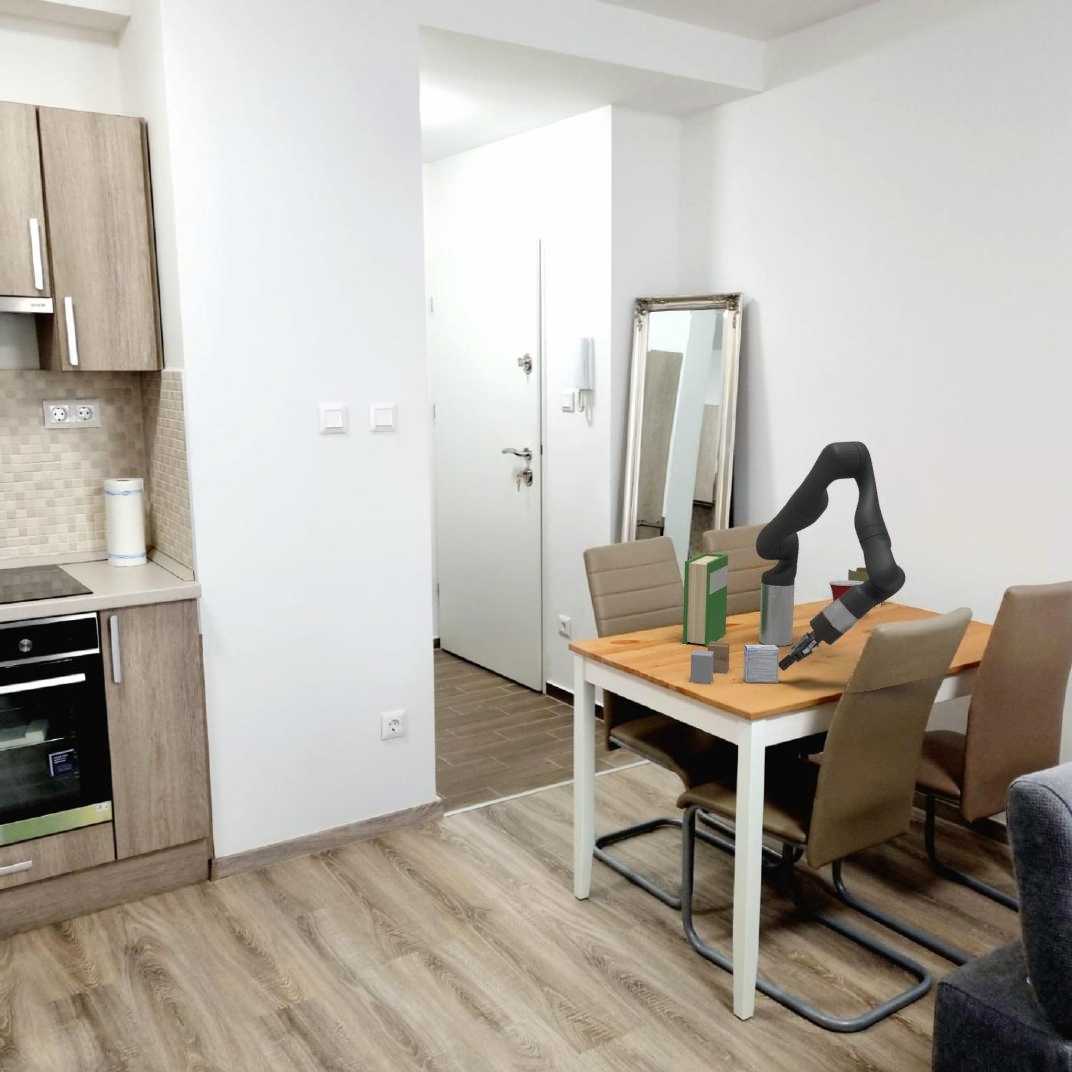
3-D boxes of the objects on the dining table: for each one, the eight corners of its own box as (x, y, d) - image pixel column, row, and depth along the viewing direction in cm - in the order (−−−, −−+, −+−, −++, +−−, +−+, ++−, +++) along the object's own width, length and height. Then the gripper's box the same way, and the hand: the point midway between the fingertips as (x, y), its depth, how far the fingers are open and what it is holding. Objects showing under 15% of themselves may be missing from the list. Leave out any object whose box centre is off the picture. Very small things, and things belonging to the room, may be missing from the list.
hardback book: (708, 647, 289) (710, 563, 286) (682, 644, 292) (684, 561, 289) (725, 634, 304) (728, 554, 301) (701, 632, 308) (703, 553, 305)
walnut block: (709, 667, 267) (710, 641, 266) (728, 668, 266) (729, 642, 265) (707, 672, 262) (708, 645, 261) (727, 673, 261) (728, 646, 260)
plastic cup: (843, 613, 337) (845, 577, 336) (869, 619, 328) (871, 582, 327) (819, 616, 332) (821, 579, 330) (845, 622, 323) (847, 585, 321)
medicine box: (774, 678, 256) (775, 644, 255) (778, 683, 252) (779, 648, 251) (742, 678, 257) (744, 644, 255) (745, 682, 252) (747, 648, 251)
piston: (842, 569, 351) (858, 566, 358) (840, 604, 352) (857, 600, 360) (873, 574, 343) (889, 570, 350) (871, 609, 344) (887, 604, 352)
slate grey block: (692, 677, 257) (693, 650, 256) (712, 678, 256) (713, 651, 255) (690, 682, 252) (691, 654, 252) (710, 684, 251) (711, 656, 250)
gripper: (822, 604, 255) (770, 650, 259) (823, 615, 242) (768, 662, 247) (844, 627, 254) (791, 672, 259) (846, 638, 241) (790, 685, 246)
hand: (780, 667), depth 253 cm, fingers closed
